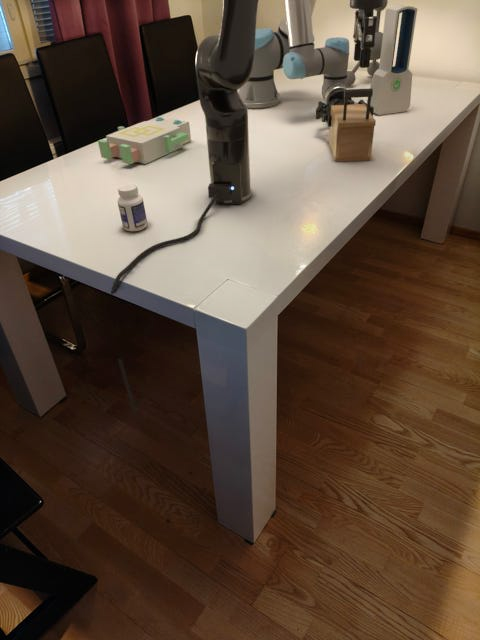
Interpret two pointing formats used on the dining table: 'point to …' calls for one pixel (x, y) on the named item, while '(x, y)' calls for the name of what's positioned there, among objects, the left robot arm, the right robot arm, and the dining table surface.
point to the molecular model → (374, 51)
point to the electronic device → (397, 80)
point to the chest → (350, 142)
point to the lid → (354, 110)
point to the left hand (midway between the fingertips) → (361, 63)
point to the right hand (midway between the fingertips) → (348, 120)
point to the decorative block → (146, 140)
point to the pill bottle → (131, 208)
